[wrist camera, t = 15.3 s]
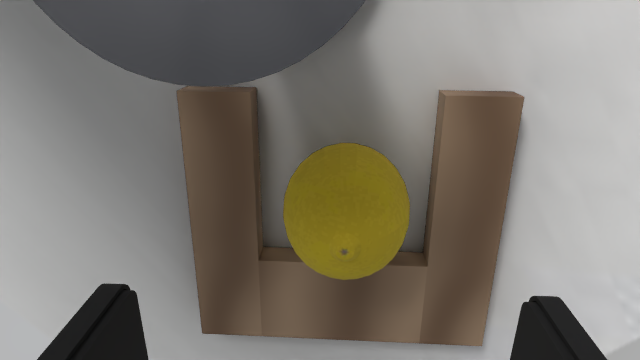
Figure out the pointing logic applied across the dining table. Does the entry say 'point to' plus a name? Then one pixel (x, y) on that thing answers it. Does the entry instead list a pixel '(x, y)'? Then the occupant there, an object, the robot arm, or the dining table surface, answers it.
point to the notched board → (354, 294)
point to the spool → (201, 35)
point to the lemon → (346, 211)
